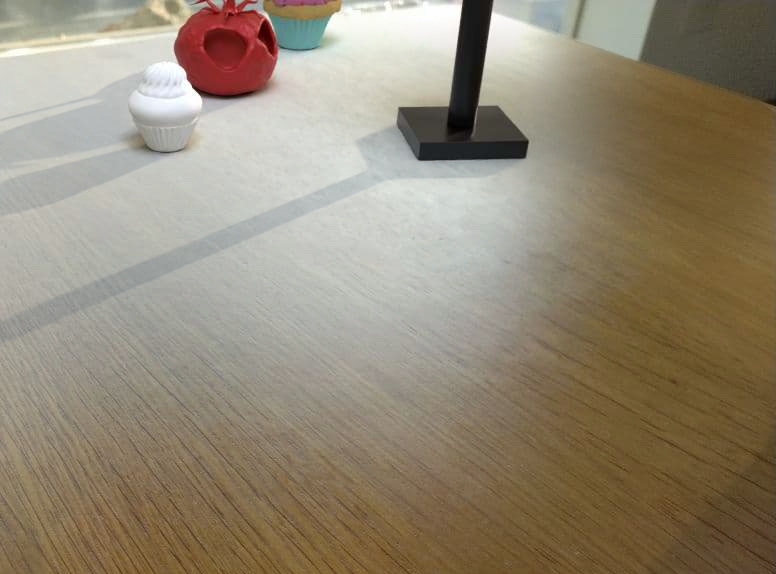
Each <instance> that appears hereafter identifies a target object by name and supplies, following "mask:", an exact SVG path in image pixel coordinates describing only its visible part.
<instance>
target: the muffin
mask: <svg viewBox="0 0 776 574" xmlns="http://www.w3.org/2000/svg"><path fill="white" fill-rule="evenodd" d="M192 86H193V85H192V84H191V83H190V82H189V81H188V80H187V79H186V72H185V71H184V69H183V68H182V67H180V66H179V64H178V63H175V62H171V61H170V62H169V61H168V62H167V61H165V60H163V61H160V62H155V63H151V64H150V65H149V66H147V67H146V68H145V69H144V70H143V74H142V80H141V82H140V83H139V85H138V86H137V89H135V90H134V91H133V92H132V93H131V94H130V96H129V98H128V102H127V106H128V111H129V113H130V115H131V116H132V121H133V123H134V124H135V126H136V128H137V130H138V132H139V133H140V135H141V137H142V138H143V140H144V142H145V144H146V146H147V148H148V149H150V150H153V151H155V152H160V153H162V152H164V153H166V152H167V153H170V152H172V153H173V152H176V151H177V152H178V151H181V150H183V149H184V148H185V147H187V145H188V143H189V141H190V139H191V137H192V135H193V133H194V130H195V128H196V126H197V125H198V122H199V121H200V115H201V113H202V112H201V111H202V109H203V99H202V97H201V96H200V94H199V93H198V92H197V91H196V90H195V89H194V88H193V87H192Z"/></svg>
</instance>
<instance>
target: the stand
mask: <svg viewBox="0 0 776 574" xmlns="http://www.w3.org/2000/svg"><path fill="white" fill-rule="evenodd" d="M494 1H495V0H462V2H461V11H460V16H459V17H460V19H459V26H458V33H457V41H456V49H455V56H454V64H453V71H452V77H451V78H452V80H451V85H450V95H449V102H448V105H442V106H440V105H439V106H438V105H437V106H435V105H434V106H398V108H397V116H396V117H397V118H396V124H397V126H398V128H399V129H400V131H401V133H402V134H403V136H404V138H405V140H406V141H407V143H408V145H409V146H410V149H411V150H412V151H413V153H414V155H415V157H416V159H417V160H418V161H439V160H441V161H443V160H444V161H445V160H486V159H487V160H491V159H493V160H494V159H526V158H527V154H528V151H529V150H528V149H529V144H530V140H529V138H527V136H526V135H525V134H524V133H523V132H522V131H521V130H520V129H519V127H518V126H517V125H516V124H515V123H514V122H513V121H512V119H511V118H510V117H509V116H508V115H507V114H506V113H505V112H504V111H503V109H502V108H501V107H500V106H499V105H497V104H496V105H479V103H480V97H481V91H482V83H483V78H484V77H483V76H484V69H485V63H486V57H487V55H486V54H487V48H488V43H489V35H490V27H491V23H492V15H493V8H494Z"/></svg>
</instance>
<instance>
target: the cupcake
mask: <svg viewBox="0 0 776 574" xmlns="http://www.w3.org/2000/svg"><path fill="white" fill-rule="evenodd" d="M342 1H343V0H263V2H262V10H263V12H265V13H266V14H267V17H268V18H269V21H270V23H271V26H272V28H273V30H274V33H275V35H276V39H277V46H278V47H281V48H284V49H289V50H296V51H297V50H301V51H302V50H303V51H305V50H311V49H316V48H317V47H319V46H320V45H321V44H322V40H323V37H324V34H325V32H326V29H327V26H328V24H329V21H331V18H332V16H333V15H335V14H336V13H339V12H340V11H341V9H342V3H343V2H342Z"/></svg>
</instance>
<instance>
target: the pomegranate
mask: <svg viewBox="0 0 776 574" xmlns="http://www.w3.org/2000/svg"><path fill="white" fill-rule="evenodd" d="M205 2H206V4H207V5H208V6H203V7H202V8H201V9H199V11H197V12H195V13H193V14H192V15H190V17H188V18H187V20H186V21H185V23H184V24H183V25H181V26H180V28H179V29H178V33H177V36H176V38H175V40H174V44H173V52H174V56H175V58H176V61H177V65H179V66H180V67H182V68H183V69H184V71H185V72H186V79H187V81H188V82H189V83H190V84H191V86H193V87H194V88H196V89H198V90H200V91H203V92H204V93H208V94H213V95H217V96H236V95H241V94H244V93H249V92H255V91H259V90H260V89H262V88H264V87H265V86H266V85H267V84H268V82H269V81H270V79H271V78H272V76H273V74H274V71H275V69H276V65H277V62H278V57H279V45H278V43H277V39H276V35H275V31H274V28H273V25H272V23H271V20H270V19H268V18H267V17H266V16H265V15H264V14H262V13H259V12H258V10H257V9H248V10H244V8H245V7H246V6H247V5H250V4H251V5H255V4H257V3H258V2H259V0H243V1H241V3H239V4H236V0H222V3H223V5H222V7H221V8H220V7H218V6H217V5H216V4H215V3H213V2H212V1H211V0H198V1H196V2H194V3H189V5H190V6H194V5H198V4H201V3H205Z"/></svg>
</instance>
